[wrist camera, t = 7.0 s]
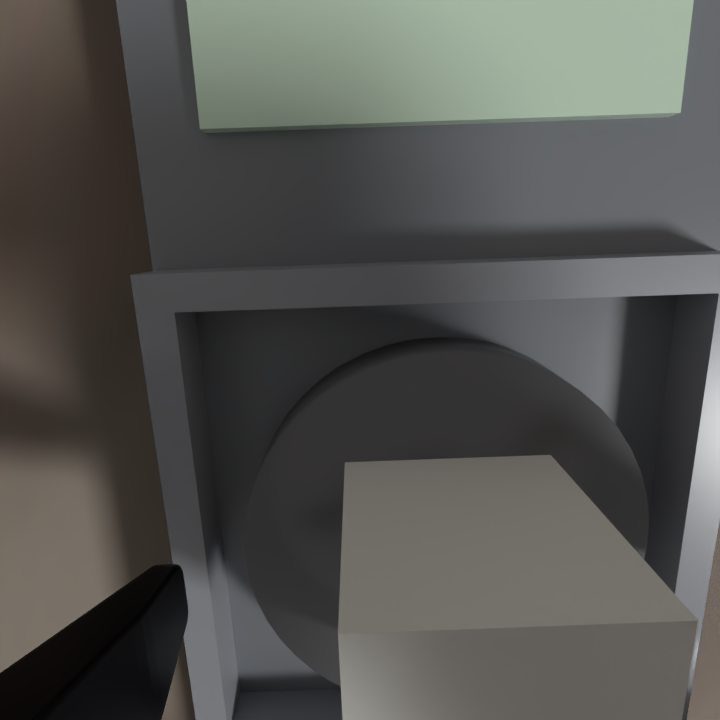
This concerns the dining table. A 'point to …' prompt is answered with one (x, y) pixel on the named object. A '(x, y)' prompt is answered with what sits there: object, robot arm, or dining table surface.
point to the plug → (464, 544)
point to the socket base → (418, 251)
